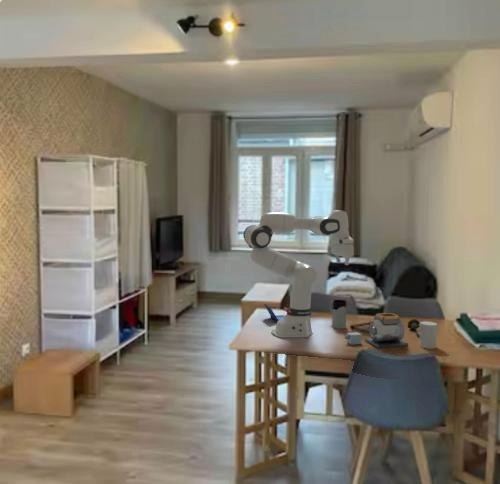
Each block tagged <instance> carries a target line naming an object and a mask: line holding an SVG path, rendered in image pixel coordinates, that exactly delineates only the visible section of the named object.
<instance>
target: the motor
mask: <svg viewBox="0 0 500 484" xmlns="http://www.w3.org/2000/svg"><path fill="white" fill-rule="evenodd" d="M368 330H369V335H370V337H365V338H364V342H367V343H368V344H370V345H372V346H374V347H376V348H377V349H389V348H401V347H408V346H409V343H408V342H407V341H404V340H403V339H404V337H405V325H404V323H403V321H402V319H401V318H400V315H397V314H395V313H392V312H388V313H387V312H386V313H375V315H374V317H373V320H371V322H370V323H369V329H368Z"/></svg>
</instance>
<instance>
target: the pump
mask: <svg viewBox="0 0 500 484" xmlns="http://www.w3.org/2000/svg"><path fill="white" fill-rule="evenodd" d="M362 336H363V335H362V334H361V333H359V332H357V331H354V332H347V333H346V335H344V339H345V340H346V343H348V344H349V345H351V346H352V345H362Z"/></svg>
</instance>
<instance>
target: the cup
mask: <svg viewBox="0 0 500 484" xmlns="http://www.w3.org/2000/svg"><path fill="white" fill-rule="evenodd" d="M419 323H420V324H419V325H420V327H419V330H420V336H419V345H418V346H419V347H420V348H424V349H426V350H427V349H429V350H432V349H433V348H434V349H436V348H437V335H438V334H437V332H438V331H437V330H438V323H436V322H433V321H419ZM434 349H433V350H434Z"/></svg>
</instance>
